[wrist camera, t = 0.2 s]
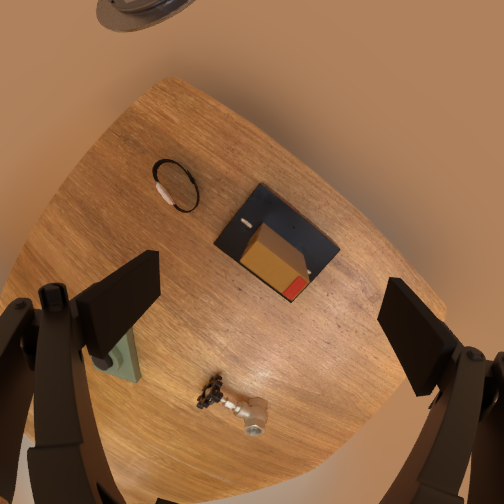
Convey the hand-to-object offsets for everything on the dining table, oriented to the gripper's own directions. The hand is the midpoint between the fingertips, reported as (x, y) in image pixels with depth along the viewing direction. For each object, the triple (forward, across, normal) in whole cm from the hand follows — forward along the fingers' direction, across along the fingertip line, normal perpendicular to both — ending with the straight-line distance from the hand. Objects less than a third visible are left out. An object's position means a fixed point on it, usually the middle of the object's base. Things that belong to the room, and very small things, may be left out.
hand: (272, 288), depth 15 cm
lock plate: (+20, 0, -2) cm, 20 cm away
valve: (+20, -3, -30) cm, 37 cm away
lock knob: (+17, 0, -3) cm, 17 cm away
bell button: (+16, -27, -26) cm, 40 cm away
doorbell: (+20, -27, -26) cm, 42 cm away
